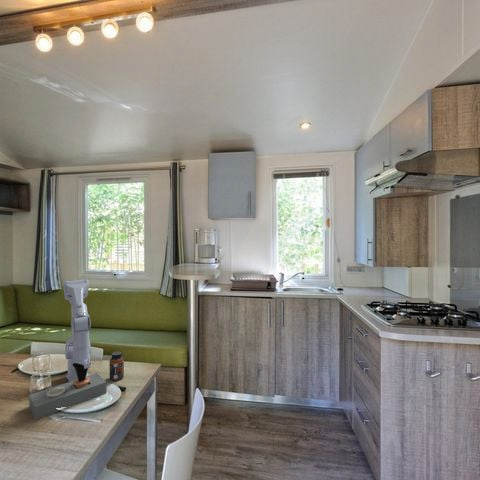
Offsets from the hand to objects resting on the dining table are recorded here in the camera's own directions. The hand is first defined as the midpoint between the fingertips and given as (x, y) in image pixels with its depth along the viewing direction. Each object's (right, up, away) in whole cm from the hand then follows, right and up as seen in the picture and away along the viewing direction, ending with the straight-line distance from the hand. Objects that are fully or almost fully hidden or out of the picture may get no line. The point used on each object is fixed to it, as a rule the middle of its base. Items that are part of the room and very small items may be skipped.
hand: (81, 380), depth 116 cm
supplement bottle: (+8, -6, +14) cm, 17 cm away
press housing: (-3, -6, -3) cm, 7 cm away
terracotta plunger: (0, -4, 0) cm, 4 cm away
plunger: (-6, -5, -6) cm, 10 cm away
